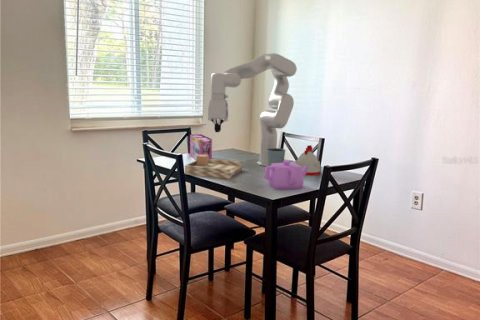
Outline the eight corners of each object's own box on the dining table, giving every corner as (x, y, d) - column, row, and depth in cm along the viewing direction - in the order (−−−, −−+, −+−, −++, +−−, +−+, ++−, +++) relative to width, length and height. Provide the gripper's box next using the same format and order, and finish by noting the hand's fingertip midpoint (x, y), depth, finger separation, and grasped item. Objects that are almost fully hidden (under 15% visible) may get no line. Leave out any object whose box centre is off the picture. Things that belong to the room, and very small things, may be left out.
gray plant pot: (283, 173, 227) (284, 151, 224) (264, 172, 229) (265, 150, 226) (284, 169, 236) (286, 148, 234) (266, 168, 238) (267, 147, 236)
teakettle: (261, 187, 197) (262, 161, 194) (275, 180, 212) (277, 156, 209) (296, 193, 189) (297, 166, 187) (308, 185, 204) (310, 160, 202)
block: (208, 164, 232) (208, 155, 231) (205, 165, 227) (205, 156, 226) (199, 163, 233) (200, 154, 233) (196, 165, 229) (196, 155, 228)
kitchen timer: (323, 172, 233) (325, 145, 230) (313, 176, 222) (315, 148, 219) (301, 168, 241) (302, 142, 238) (289, 172, 230) (291, 145, 227)
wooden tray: (241, 170, 232) (242, 162, 231) (229, 178, 211) (229, 169, 210) (201, 166, 238) (201, 158, 238) (184, 174, 218) (184, 165, 217)
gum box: (212, 162, 250) (213, 139, 248) (199, 163, 248) (200, 140, 245) (201, 155, 272) (201, 134, 270) (189, 155, 269) (189, 134, 267)
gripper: (234, 97, 223) (233, 132, 227) (207, 96, 227) (207, 130, 231) (229, 97, 216) (228, 133, 220) (202, 96, 220) (201, 131, 224)
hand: (217, 131), depth 225 cm, fingers closed
